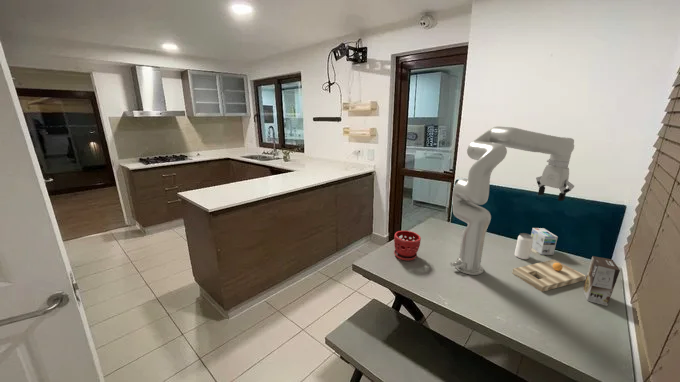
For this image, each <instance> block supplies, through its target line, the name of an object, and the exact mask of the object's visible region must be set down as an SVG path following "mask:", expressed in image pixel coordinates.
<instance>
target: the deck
mask: <svg viewBox="0 0 680 382" xmlns="http://www.w3.org/2000/svg"><path fill="white" fill-rule="evenodd" d="M554 263H560V264H561V265H562V266H563V268H562V270H560V271H557V270H555V269H554V268H553V264H554ZM511 273H512V274H513V275H514V276H515V277H517V278H519V279H520V280H522V281H524V282H525V283H527V284H528V285H530V286H532V287H533V288H534V289H536V290H538V291H540V292H541V293H543V292H547V291H550V290H554V289H557V288H561V287H565V286H568V285H569V286H570V285H573V284H576V283H580V282H585V280H586V276H587V274H586V275H585V274H584V273H581V272H580V271H578V270H575V269H574V268H572V267H569V266H567V265H565V264H563V263H562V262H560V261H558V260H556V259H549V260H544V261H542V262H541V261H540V262H537V263H533V264H528V265H524V266H520V267H513V269H512V272H511Z"/></svg>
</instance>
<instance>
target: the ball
mask: <svg viewBox="0 0 680 382" xmlns="http://www.w3.org/2000/svg"><path fill="white" fill-rule="evenodd" d="M560 263H561V262H560ZM560 263H554V264H553V268H554V269H555V270H557V271H560V270H562V268H563V266H562V265H561V264H560Z"/></svg>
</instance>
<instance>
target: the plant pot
mask: <svg viewBox="0 0 680 382" xmlns="http://www.w3.org/2000/svg"><path fill="white" fill-rule="evenodd" d="M400 236H401V238H400ZM421 240H422V238H421V236H420V235H419V234H418V233H417V232H414V231H410V230H398V231H396V232H395V233H394V236H393V242H394V243H393V245H394V251H393V254H394V256H395V257H396V258H398V259H399V260H401V261H402V260H403V261H408V262H409V261H413V260H415V259H416V258H417V255H418V251H419V249H420V246H421Z"/></svg>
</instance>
